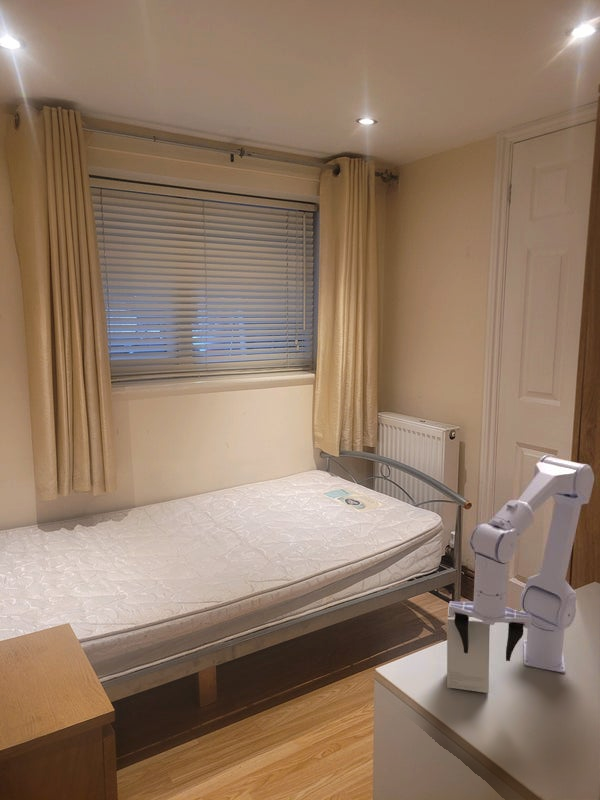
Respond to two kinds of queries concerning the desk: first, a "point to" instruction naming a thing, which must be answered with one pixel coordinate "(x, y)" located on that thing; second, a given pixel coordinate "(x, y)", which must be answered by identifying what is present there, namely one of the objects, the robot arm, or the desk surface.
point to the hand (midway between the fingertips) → (486, 654)
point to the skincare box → (468, 656)
